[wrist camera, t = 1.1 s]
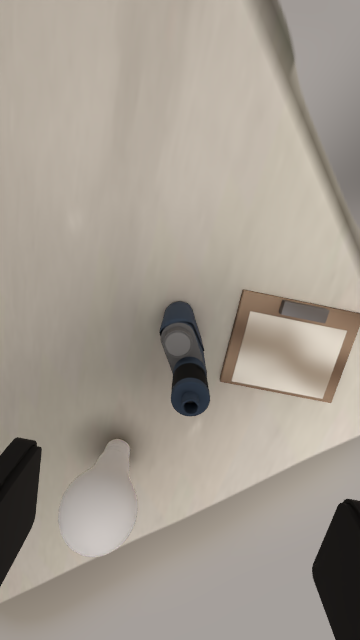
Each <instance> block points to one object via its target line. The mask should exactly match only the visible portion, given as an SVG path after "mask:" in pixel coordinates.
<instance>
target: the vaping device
mask: <svg viewBox="0 0 360 640" xmlns="http://www.w3.org/2000/svg"><path fill="white" fill-rule="evenodd" d="M160 336H161V343H162V345H163V348H164V351H165V354H166V356H167V359H168V362H169V364H170V367H171V370H172V373H173V381H172V393H171V402H172V405H173V407H174V409H175V410H176V411H177V412H179V413H180V414H182V415H185V416H196V415H199V414H201V413H202V412H204V411H205V410H206V409H207V407H208V405H209V402H210V395H209V389H208V382H207V370H206V366H205V359H204V353H203V351H204V348H203V344H202V340H201V336H200V333H199V330H198V327H197V324H196V320H195V317H194V314H193V310H192V308H191V306H190V305H189V304H188V303H185V302H180V301H179V302H174V303H172V304H170V305H169V306H168V307H167V309H166V310H165V314H164V317H163V321H162V325H161V328H160Z"/></svg>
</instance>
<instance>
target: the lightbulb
mask: <svg viewBox="0 0 360 640" xmlns="http://www.w3.org/2000/svg"><path fill="white" fill-rule="evenodd" d="M129 456H130V447H129V445H128V443H127V442H125V441H124V440H121V439H114V440H111V441H110V442H109V443H108V444H107V446H106V447H105V450H104V451H103V453H102V454H101V455H100V456H99V458H98V460H97V462H96V463H95V465H94V466H93V467H92V468H90V469H88V470H87V471H85V472H84V473H82V474H81V475H79V476H78V477H77V478H76V479H75V480H74V481H73V482H72V483H71V484H70V485H69V486H68V488H67V489H66V491H65V493H64V495H63V497H62V500H61V503H60V507H59V515H58V523H59V528H60V532H61V535H62V537H63V539H64V541H65V543H66V544H67V545H68V547H69V548H70V549H72V550H73V551H75V552H76V553H78V554H80V555H83V556H88V557H99V556H104V555H106V554H108V553H110V552H112V551H114V550H115V549H117V548H118V547H119V546H120V545H121V544H122V543H123V542H124V541H125V540H126V539H127V537H128V536H129V534H130V533H131V531H132V529H133V526H134V524H135V521H136V517H137V511H138V504H137V495H136V492H135V489H134V487H133V484H132V482H131V480H130V478H129V467H130V463H129Z"/></svg>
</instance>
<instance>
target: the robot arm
mask: <svg viewBox="0 0 360 640" xmlns="http://www.w3.org/2000/svg"><path fill="white" fill-rule="evenodd" d="M41 451H42V449H41V447H37V443H36V441H34V440H28V439H23V438H18V437H17V438H15V439H14V440H13V441H12V442H11V443H10V445H9V446H8V447H7V448H6V449H5V451H4V452H3V453H2V454H1V455H0V586H1V584H2V582H3V581H4V579H5V577H6V575H7V573H8V571H9V569H10V567H11V566H12V564H13V562H14V560H15V558H16V556H17V554H18V552H19V551H20V549H21V547H22V545H23V543H24V541H25V539H26V537H27V536H28V534H29V532H30V530H31V528H32V525H33V522H34V519H35V514H36V504H37V493H38V483H39V472H40V462H41ZM312 572H313V579H314V582H315V585H316V587H317V590H318V593H319V595H320V598H321V601H322V604H323V607H324V609H325V612H326V615H327V617H328V620H329V623H330V626H331V628H332V631H333V634H334V637H335V639H336V640H360V501H357V500H352V499H346V500H344V502H343V503H340V504H339V505H338V507H337V509H336V512H335V514H334V516H333V519H332V521H331V523H330V526H329V528H328V530H327V533H326V535H325V537H324V540H323V542H322V545H321V547H320V549H319V552H318V554H317V556H316V559H315V561H314V563H313V567H312Z"/></svg>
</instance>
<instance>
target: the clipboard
mask: <svg viewBox="0 0 360 640" xmlns="http://www.w3.org/2000/svg"><path fill="white" fill-rule="evenodd" d="M359 327H360V313H355V312H351V311H346V310H341V309H336V308H331V307H326V306H321V305H316V304H312V303H307V302H302V301H297V300H292V299H287V298H282V297H278V296H273V295H268V294H263V293H258V292H253V291H248V290H244V289H243V292H242V295H241V299H240V303H239V307H238V311H237V315H236V319H235V322H234V326H233V330H232V334H231V338H230V342H229V346H228V349H227V353H226V357H225V361H224V365H223V369H222V373H221V376H220V381H221V382H225V383H230V384H236V385H241V386H246V387H251V388H256V389H261V390H266V391H272V392H277V393H282V394H287V395H292V396H297V397H302V398H308V399H313V400H318V401H323V402H328V403H331V402H332V399H333V396H334V394H335V391H336V388H337V386H338V383H339V380H340V378H341V375H342V372H343V370H344V367H345V364H346V362H347V359H348V356H349V353H350V351H351V348H352V345H353V343H354V340H355V337H356V335H357V332H358V329H359Z"/></svg>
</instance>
